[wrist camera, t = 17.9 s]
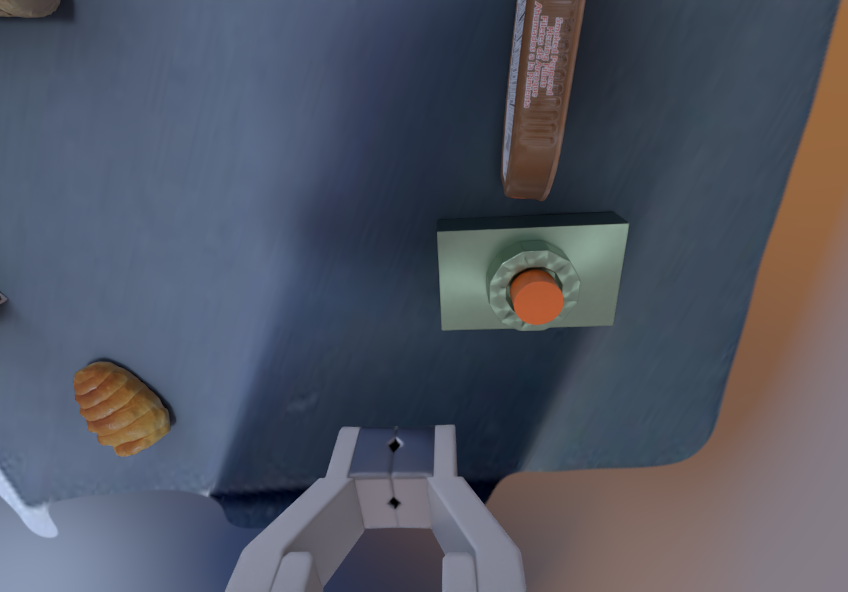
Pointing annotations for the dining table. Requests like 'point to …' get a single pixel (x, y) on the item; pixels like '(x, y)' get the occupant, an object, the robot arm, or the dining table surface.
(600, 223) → the console
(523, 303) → the button
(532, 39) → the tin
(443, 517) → the robot arm
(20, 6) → the decorative bottle
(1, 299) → the grey brown rounded block
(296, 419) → the dining table surface
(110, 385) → the pastry
